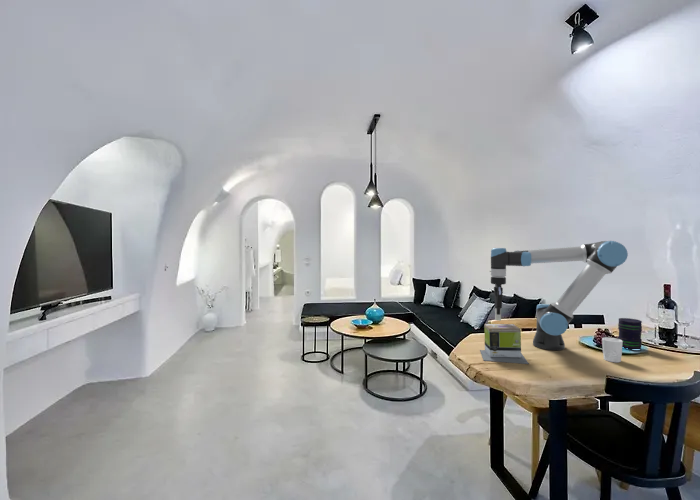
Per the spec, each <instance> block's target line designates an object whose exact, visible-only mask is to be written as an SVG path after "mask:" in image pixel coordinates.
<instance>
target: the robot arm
mask: <svg viewBox="0 0 700 500" xmlns="http://www.w3.org/2000/svg"><path fill="white" fill-rule="evenodd" d="M628 254H629V253H628V249H627V248H626V247H625V246H624V244H623V243H620V242H618V241H615V240H603V241H597V242H592V243H586V244H585V243H583V244H581V245H580V246H570V247H568V246H567V247H556V248H543V249H542V248H541V249H540V248H538V249H529V250H514V251H507V249H506V248H505V247H493V248H492V249H491V250H490V270H489V273H490V276H491V277H490V283H491V284H492V285H494V287H493V292H494V307H493V308H494V311H495V312H494V321H501V320H502V309H503V293H504V291H503V289H504V287H502V285H507V278H506V276H507V267H509V266H510V267H530V266H531V265H533V264H548V263H549V264H550V263H567V262H568V263H569V262H583V263H585V264H586V263H587V264H586V265H585V266H584V268H583V269H582V270H581V272H579V274H578V275H577V276H576V278H574V280H573V281H572V282H571V283H570V285H569V286H568V287H567V288H566V289H565V291H564V292H563V293H562V295H561V296H560V297H559V298H558V299H557V300H556V302H550V304H547V303H545V304H544V303H539V304H537V305H536V309H535V311H536V332H535V335H534V336H533V339H532V345H533V346H534V347H535V348H538V349H543V350H548V351H563V350H566V349H565V348H566V345H565V341H564V338H563V336H562V335H563V334H564V333H566V331H567V330H568V327H569V323H570V322H572V320H573V319H574V314H573V313H575V311H576V310H577V308H579V306H580V305H581V304H582V303H583V301H584V300H585V299H586V298H587V297H588V295H590V293H591V292H592V291H593V290H594V289H595V287H596V286H597V285H599V283H600V281H602V279H604V276H606V275H608V274H612V273H613V272H614V270H615V269H617V267H619V266H621V265H623V264H624V263H625V262H626V261H627V259H628V256H629V255H628Z"/></svg>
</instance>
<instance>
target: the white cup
mask: <svg viewBox="0 0 700 500" xmlns="http://www.w3.org/2000/svg"><path fill="white" fill-rule="evenodd" d="M601 343H602V345H601V346H602V354H603V360H605V361H606V362H610V363H621V362H622V356H623V355H622V354H623V348H622V344H623V341H622V340H620V339H618V338H616V337H606V336H605V337H602V338H601Z"/></svg>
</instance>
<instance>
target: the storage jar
mask: <svg viewBox="0 0 700 500" xmlns="http://www.w3.org/2000/svg"><path fill="white" fill-rule="evenodd" d="M642 323H643V321H642V320H640V319H636V318H630V317H629V318H627V317H620V318H618V323H617V325H618V337H617V339H620V340H622V341H623V344H622V347H624V348H628V349H641V350H642V342H643V341H642V331H643V326H642Z"/></svg>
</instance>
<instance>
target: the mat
mask: <svg viewBox="0 0 700 500" xmlns="http://www.w3.org/2000/svg"><path fill="white" fill-rule="evenodd" d="M479 352H480V356H481V357H482V360H483V361H485V362H486V361H487V362H495V363H497V362H498V363H508V364H509V363H510V364H511V363H512V364H525V365H529V364H530V363H529V362H528V360H527V359H526V358H525V356H524V354H523V353H522V352H521V358H517V357H490V356H489V355H488V354H487V353H486V351H485V349H479Z"/></svg>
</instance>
